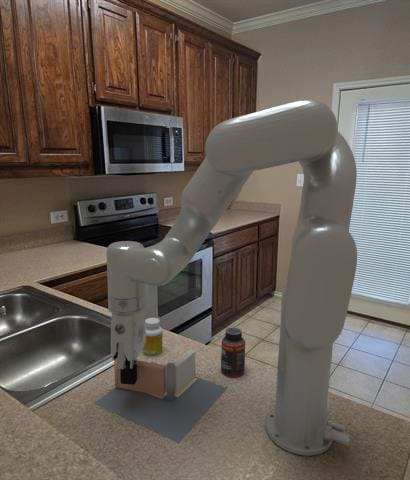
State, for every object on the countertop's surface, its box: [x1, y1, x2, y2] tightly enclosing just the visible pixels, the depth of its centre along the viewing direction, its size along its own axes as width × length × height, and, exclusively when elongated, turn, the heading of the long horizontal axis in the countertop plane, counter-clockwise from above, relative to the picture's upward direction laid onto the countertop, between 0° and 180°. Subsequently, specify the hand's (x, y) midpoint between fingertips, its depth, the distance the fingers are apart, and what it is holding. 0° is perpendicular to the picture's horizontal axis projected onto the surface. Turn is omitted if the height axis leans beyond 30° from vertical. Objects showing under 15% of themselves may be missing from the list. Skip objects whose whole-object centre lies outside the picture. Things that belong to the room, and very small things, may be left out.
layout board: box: [93, 349, 228, 444], centre depth 78 cm, size 22×20×8 cm
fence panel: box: [113, 358, 166, 396], centre depth 79 cm, size 12×2×7 cm, turn 75°
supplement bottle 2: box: [220, 327, 246, 379], centre depth 88 cm, size 6×6×11 cm
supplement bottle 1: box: [142, 317, 163, 358], centre depth 97 cm, size 5×5×10 cm
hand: (129, 382), depth 76 cm, fingers closed
